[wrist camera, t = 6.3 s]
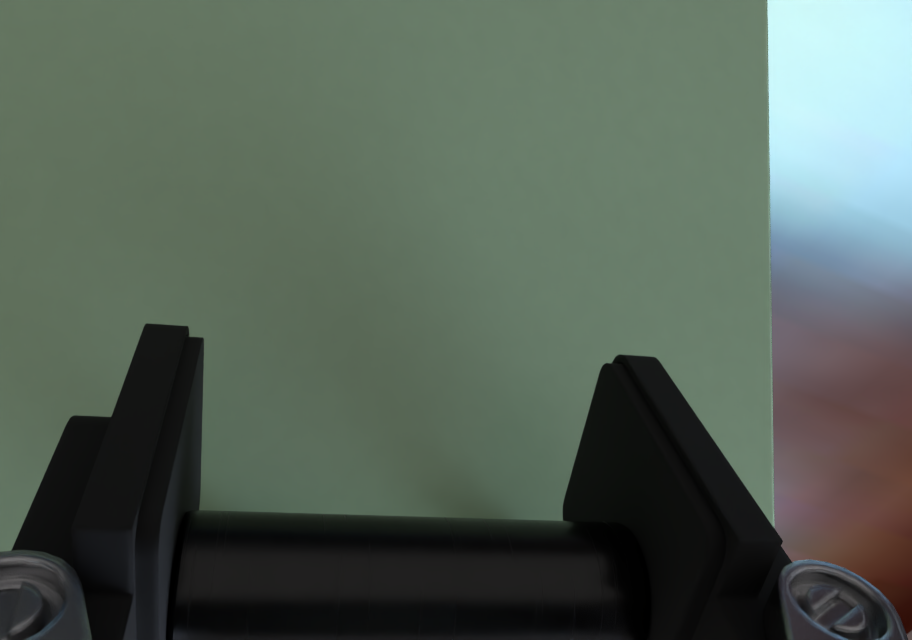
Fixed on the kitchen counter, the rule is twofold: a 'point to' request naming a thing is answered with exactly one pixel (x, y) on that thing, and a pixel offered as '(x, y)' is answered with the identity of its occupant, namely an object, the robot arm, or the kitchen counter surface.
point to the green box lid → (387, 284)
